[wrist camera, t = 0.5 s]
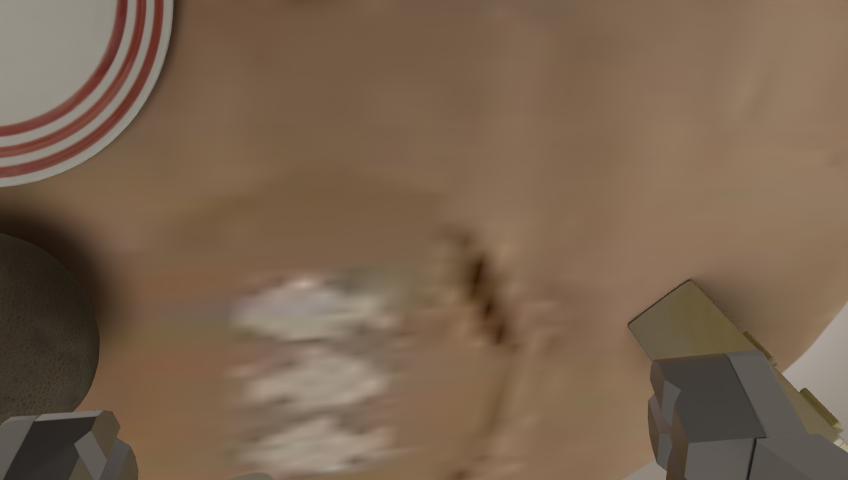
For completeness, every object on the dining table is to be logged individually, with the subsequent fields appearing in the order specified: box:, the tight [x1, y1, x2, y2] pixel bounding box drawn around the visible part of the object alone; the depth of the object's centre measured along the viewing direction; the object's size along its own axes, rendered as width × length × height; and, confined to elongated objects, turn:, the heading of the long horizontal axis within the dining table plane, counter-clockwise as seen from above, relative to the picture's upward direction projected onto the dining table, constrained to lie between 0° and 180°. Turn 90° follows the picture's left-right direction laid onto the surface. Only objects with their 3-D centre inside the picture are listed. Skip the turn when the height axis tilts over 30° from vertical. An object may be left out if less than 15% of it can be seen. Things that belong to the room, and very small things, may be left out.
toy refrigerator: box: [628, 281, 848, 452], centre depth 57 cm, size 8×7×21 cm
